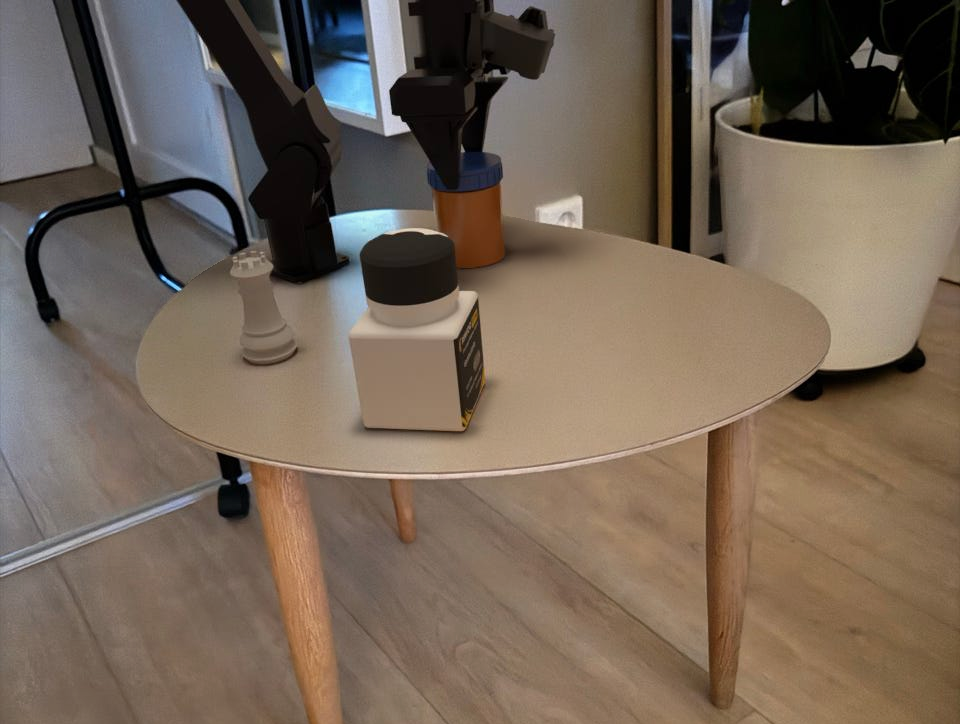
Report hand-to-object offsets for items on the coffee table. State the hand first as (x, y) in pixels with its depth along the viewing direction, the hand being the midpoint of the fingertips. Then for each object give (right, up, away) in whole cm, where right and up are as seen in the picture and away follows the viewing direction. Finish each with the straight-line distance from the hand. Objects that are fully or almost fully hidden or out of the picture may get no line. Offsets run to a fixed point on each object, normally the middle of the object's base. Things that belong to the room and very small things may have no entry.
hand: (464, 175), depth 84 cm
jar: (+1, -6, +4) cm, 8 cm away
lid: (0, +1, -1) cm, 1 cm away
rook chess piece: (-15, -18, -11) cm, 26 cm away
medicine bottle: (-2, -23, -20) cm, 30 cm away
